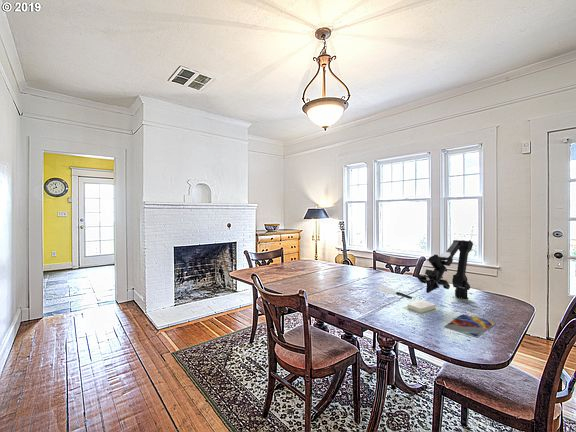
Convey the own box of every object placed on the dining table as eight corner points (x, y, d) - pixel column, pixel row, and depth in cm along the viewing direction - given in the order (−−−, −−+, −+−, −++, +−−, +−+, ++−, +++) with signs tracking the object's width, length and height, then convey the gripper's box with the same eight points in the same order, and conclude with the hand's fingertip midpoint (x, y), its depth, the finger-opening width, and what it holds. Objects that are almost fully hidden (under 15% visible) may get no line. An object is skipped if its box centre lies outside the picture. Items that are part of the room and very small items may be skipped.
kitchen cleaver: (372, 287, 216) (383, 284, 219) (373, 289, 216) (383, 286, 219) (402, 299, 186) (414, 296, 190) (402, 302, 186) (414, 298, 190)
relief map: (477, 339, 132) (477, 335, 132) (443, 328, 144) (443, 324, 144) (495, 324, 148) (495, 321, 148) (463, 316, 160) (463, 312, 160)
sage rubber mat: (422, 302, 182) (422, 301, 182) (443, 309, 169) (443, 308, 169) (401, 308, 172) (401, 307, 172) (422, 315, 160) (422, 315, 160)
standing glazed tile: (422, 300, 177) (407, 304, 171) (435, 304, 169) (420, 308, 163) (422, 304, 177) (407, 308, 171) (435, 308, 170) (420, 313, 163)
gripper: (419, 262, 183) (407, 281, 178) (447, 267, 166) (435, 288, 161) (426, 272, 187) (415, 291, 182) (454, 278, 170) (443, 299, 165)
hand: (427, 292), depth 172 cm, fingers closed
